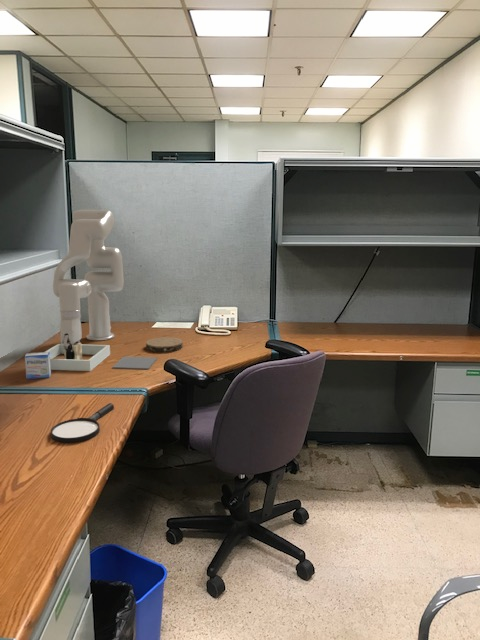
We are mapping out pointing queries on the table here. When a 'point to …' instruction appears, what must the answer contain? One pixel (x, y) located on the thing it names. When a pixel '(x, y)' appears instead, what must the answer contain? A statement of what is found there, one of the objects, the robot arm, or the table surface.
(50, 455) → the table surface
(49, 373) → the medicine box
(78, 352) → the maple block
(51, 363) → the white shallow tray
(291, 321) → the table surface
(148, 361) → the mat
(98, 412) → the magnifying glass
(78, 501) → the table surface
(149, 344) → the tambourine
